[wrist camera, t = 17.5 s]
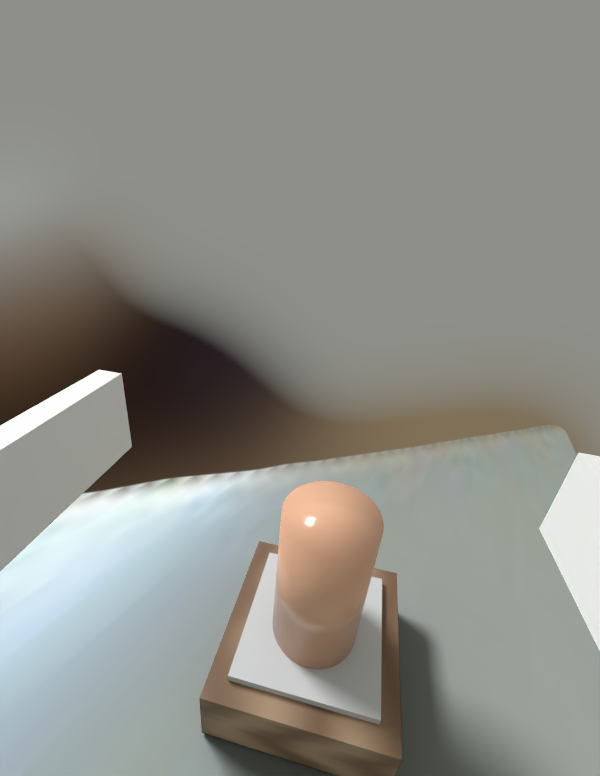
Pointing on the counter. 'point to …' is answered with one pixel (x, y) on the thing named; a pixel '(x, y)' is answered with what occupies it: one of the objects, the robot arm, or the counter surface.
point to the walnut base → (308, 684)
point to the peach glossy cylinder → (324, 571)
